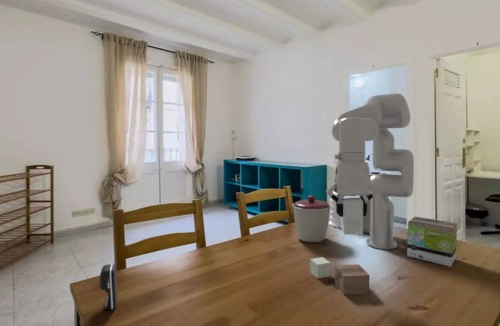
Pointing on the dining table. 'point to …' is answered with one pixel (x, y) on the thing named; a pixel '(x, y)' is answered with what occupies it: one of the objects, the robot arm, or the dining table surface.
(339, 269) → the walnut block
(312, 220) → the canister
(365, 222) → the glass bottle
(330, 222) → the decorative container
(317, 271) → the sage block
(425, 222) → the tea box
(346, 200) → the small box
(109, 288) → the battery charger
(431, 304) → the dining table surface
